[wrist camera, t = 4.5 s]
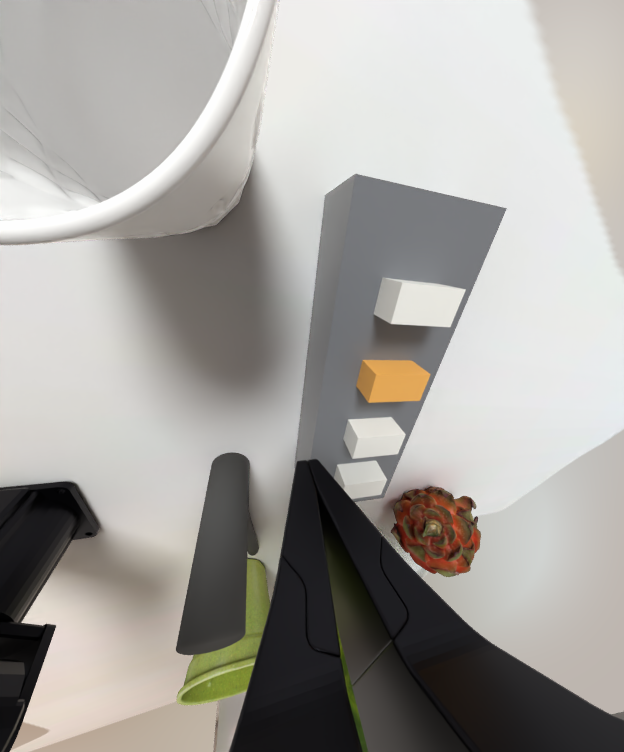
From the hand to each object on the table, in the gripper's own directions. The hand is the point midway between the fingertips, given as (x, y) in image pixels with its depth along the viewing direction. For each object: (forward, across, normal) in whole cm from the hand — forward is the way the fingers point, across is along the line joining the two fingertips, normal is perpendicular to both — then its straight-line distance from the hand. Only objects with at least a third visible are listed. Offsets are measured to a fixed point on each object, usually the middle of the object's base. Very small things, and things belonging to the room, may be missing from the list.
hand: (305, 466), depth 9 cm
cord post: (+8, +4, +9) cm, 13 cm away
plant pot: (+8, +4, +28) cm, 29 cm away
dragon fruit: (+8, -18, +18) cm, 27 cm away
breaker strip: (+8, -5, 0) cm, 9 cm away
